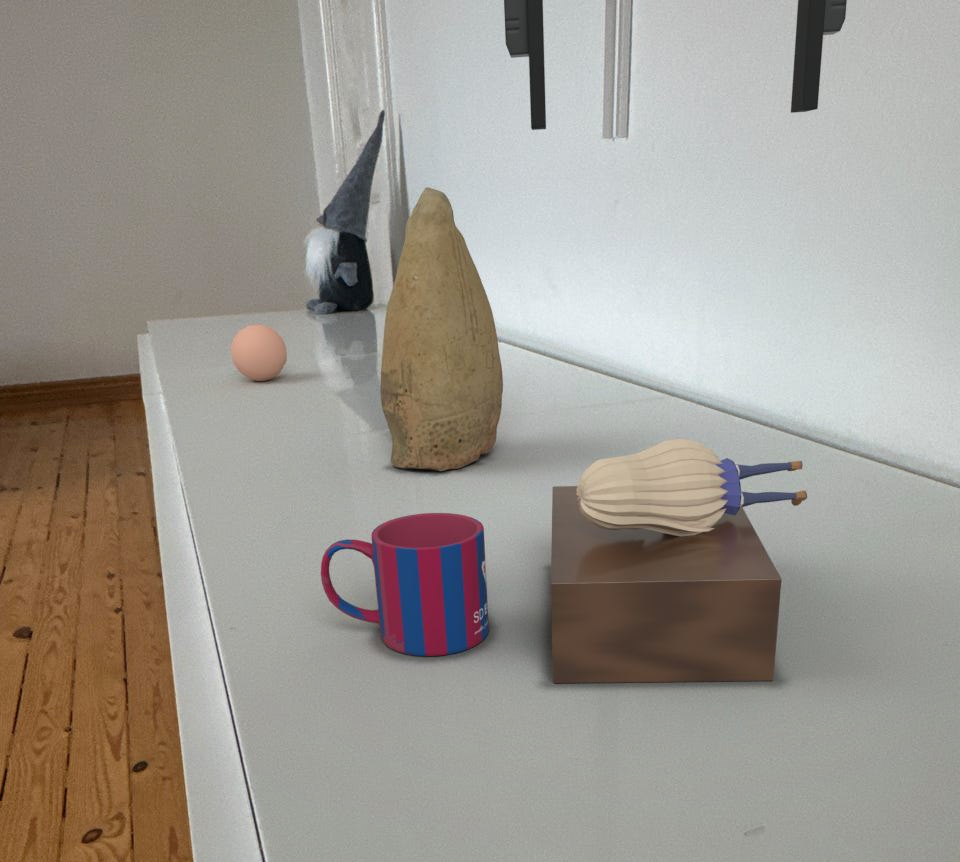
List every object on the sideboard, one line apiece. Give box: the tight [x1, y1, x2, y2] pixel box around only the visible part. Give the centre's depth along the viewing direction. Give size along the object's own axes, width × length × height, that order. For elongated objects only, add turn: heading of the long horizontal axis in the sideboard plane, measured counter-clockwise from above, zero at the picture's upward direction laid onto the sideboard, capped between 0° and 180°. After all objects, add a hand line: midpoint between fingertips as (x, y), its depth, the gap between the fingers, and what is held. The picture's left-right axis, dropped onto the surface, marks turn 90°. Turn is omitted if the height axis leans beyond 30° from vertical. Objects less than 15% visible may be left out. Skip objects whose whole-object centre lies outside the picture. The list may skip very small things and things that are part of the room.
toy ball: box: [230, 323, 288, 382], centre depth 145 cm, size 8×8×8 cm
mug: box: [320, 512, 490, 657], centre depth 61 cm, size 7×10×7 cm
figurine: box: [576, 438, 808, 536], centre depth 60 cm, size 6×4×15 cm
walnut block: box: [550, 485, 782, 684], centre depth 62 cm, size 12×18×6 cm, turn 176°
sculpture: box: [379, 187, 504, 472], centre depth 95 cm, size 12×11×25 cm
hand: (669, 121), depth 52 cm, fingers open, 13 cm apart
